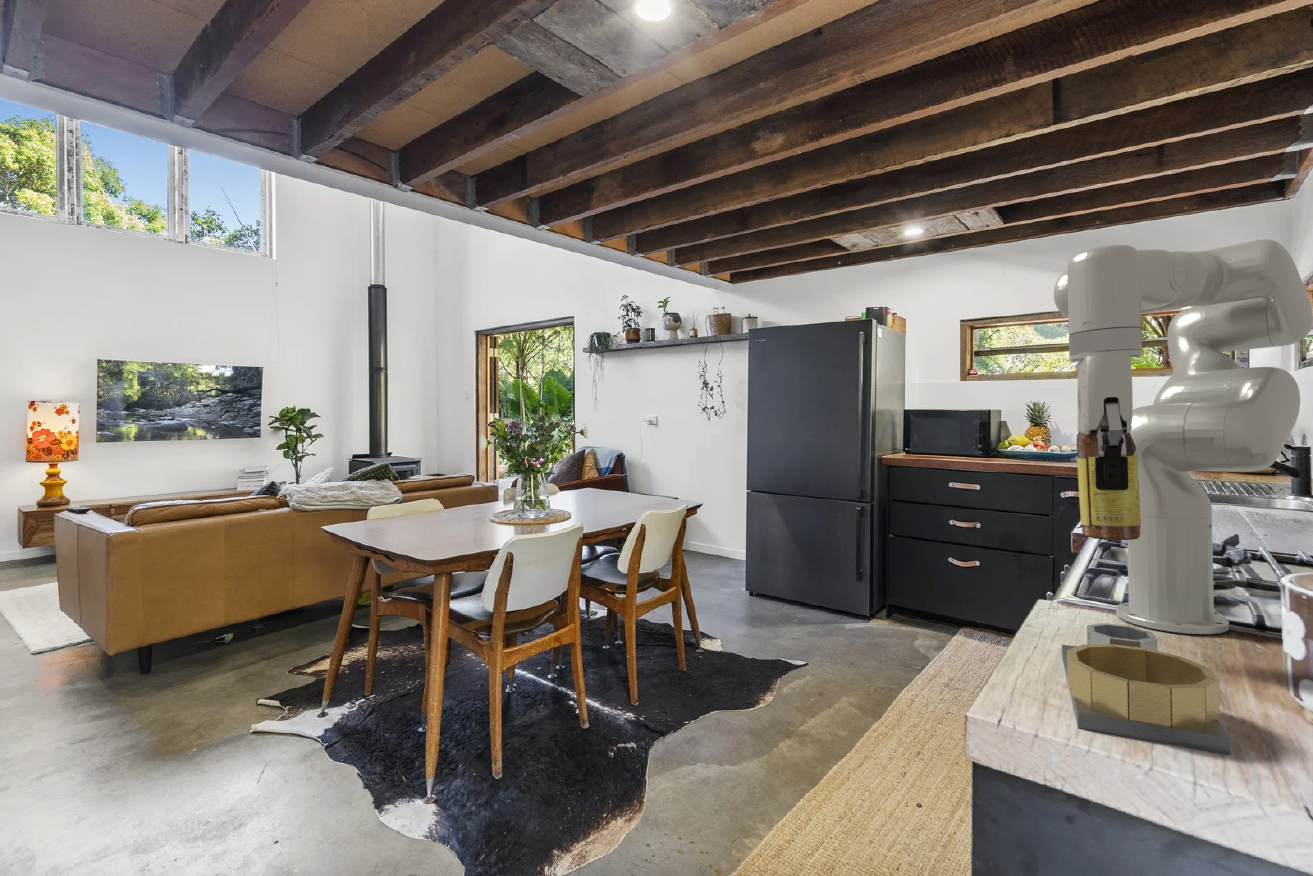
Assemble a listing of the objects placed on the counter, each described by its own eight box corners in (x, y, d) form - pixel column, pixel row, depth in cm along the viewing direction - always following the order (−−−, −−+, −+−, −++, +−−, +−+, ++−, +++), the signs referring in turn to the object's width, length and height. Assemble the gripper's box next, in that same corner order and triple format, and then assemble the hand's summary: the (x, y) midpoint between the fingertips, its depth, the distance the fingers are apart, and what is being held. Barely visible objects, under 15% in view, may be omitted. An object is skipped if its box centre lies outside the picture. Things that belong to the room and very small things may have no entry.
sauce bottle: (1154, 540, 76) (1150, 379, 76) (1113, 544, 75) (1109, 380, 74) (1105, 531, 83) (1101, 384, 82) (1066, 535, 81) (1062, 384, 81)
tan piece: (1059, 656, 77) (1058, 616, 77) (1178, 672, 71) (1177, 629, 71) (1074, 727, 59) (1073, 675, 59) (1235, 756, 53) (1234, 698, 53)
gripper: (1064, 355, 88) (1067, 480, 88) (1075, 342, 73) (1079, 493, 73) (1129, 350, 84) (1133, 481, 84) (1155, 335, 69) (1159, 495, 69)
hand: (1107, 485), depth 79 cm, fingers closed on sauce bottle, 6 cm apart
